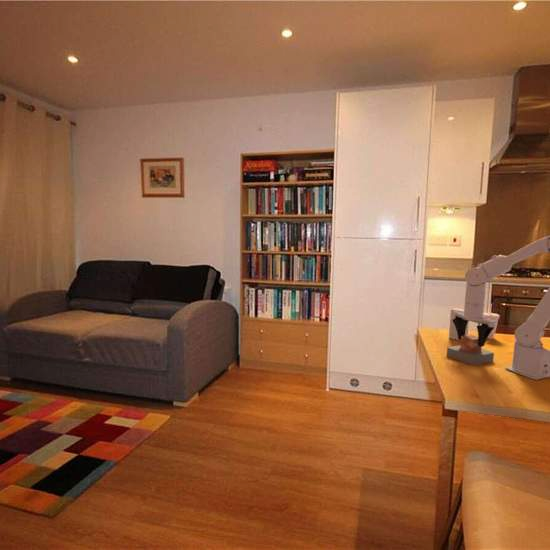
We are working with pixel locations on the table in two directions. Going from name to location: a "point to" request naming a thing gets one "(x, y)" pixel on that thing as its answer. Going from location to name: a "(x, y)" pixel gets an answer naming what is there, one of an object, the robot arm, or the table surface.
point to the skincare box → (453, 330)
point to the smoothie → (492, 317)
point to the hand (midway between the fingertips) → (470, 342)
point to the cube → (470, 343)
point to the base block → (470, 355)
